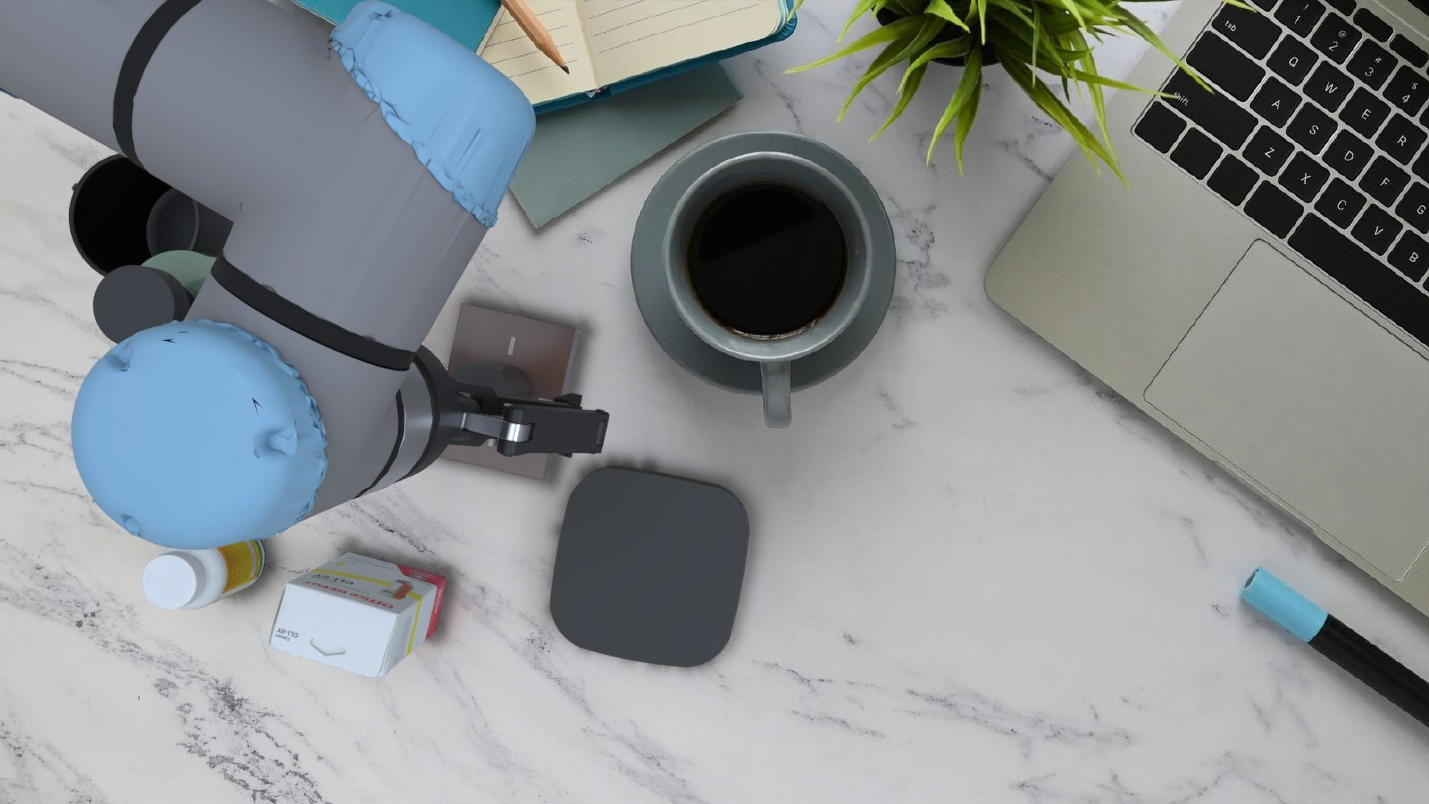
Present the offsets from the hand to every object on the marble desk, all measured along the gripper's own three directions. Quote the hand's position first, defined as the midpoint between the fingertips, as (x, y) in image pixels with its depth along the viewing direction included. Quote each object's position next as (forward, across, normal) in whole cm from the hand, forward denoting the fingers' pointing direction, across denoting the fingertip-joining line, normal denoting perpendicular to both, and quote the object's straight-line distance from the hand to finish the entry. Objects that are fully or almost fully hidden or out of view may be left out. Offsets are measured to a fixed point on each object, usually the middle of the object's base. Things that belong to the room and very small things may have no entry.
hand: (475, 391), depth 67 cm
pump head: (-13, +15, -1) cm, 20 cm away
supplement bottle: (+11, +19, +18) cm, 29 cm away
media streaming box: (+12, -14, +12) cm, 21 cm away
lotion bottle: (+12, +15, -2) cm, 19 cm away
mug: (+12, +28, -6) cm, 31 cm away
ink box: (+12, +6, +18) cm, 23 cm away
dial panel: (+12, 0, 0) cm, 12 cm away
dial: (+9, 0, 0) cm, 9 cm away
